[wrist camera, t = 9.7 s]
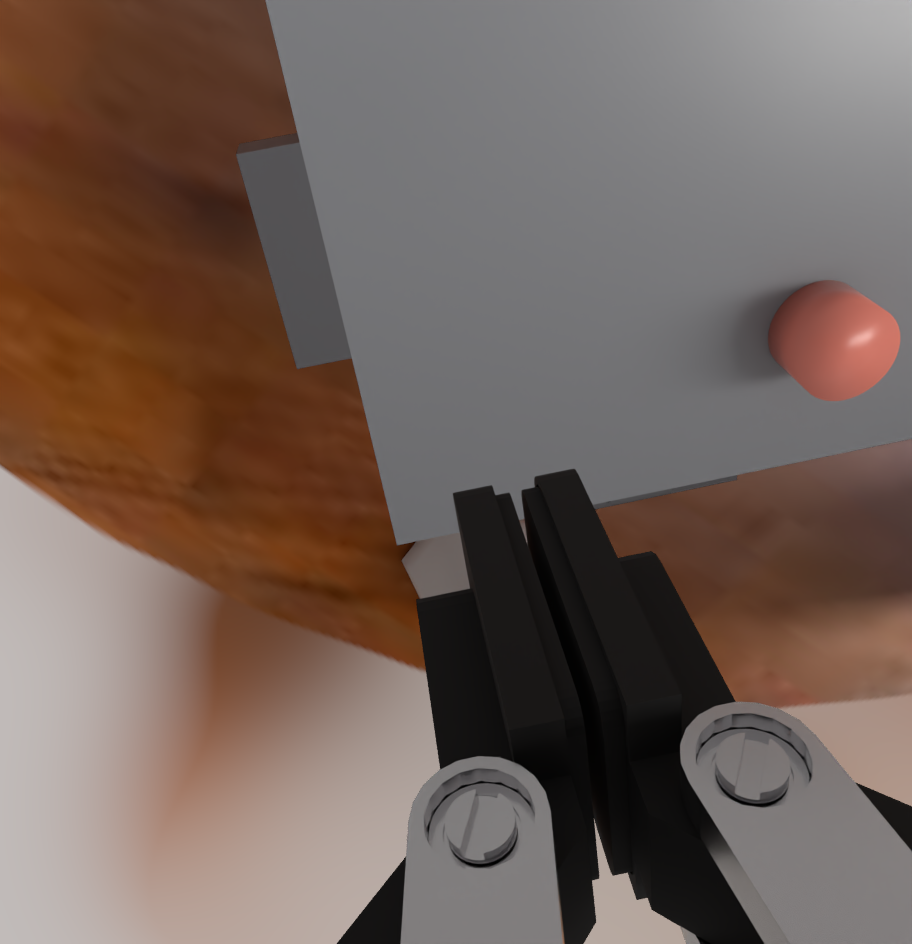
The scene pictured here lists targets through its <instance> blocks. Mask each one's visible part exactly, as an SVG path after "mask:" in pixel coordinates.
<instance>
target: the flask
mask: <svg viewBox="0 0 912 944" xmlns="http://www.w3.org/2000/svg"><path fill="white" fill-rule="evenodd" d="M519 521H520V524H521V527H522V530H523V533H524V536H525V539H526V542H527V535H526V528H525V520H523V519H522V520H519ZM527 545H528V543H527ZM402 563H403V565H404V567H405V569H406V571H407V573H408V575H409V577H410V579H411V581H412V583H413V585H414V587H415V590H416V592H417V594H418V596H419V598H420V599H421V598H426V597H431V596H436V595H441V594H446V593H451V592H455V591H460V590H465V589H470V586H469V580H468V575H467V570H466V564H465V559H464V553H463V548H462V543H461V537H460V532H459V533H454V534H449V535H445V536H440V537H435V538H430V539H425V540H420V541H416V543H415V544H414V545H413V546H412V548H411V549H410V550H409V552H408V553H407V554H406V555H405V557H404V558H403V559H402Z"/></svg>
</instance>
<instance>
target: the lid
mask: <svg viewBox="0 0 912 944" xmlns="http://www.w3.org/2000/svg"><path fill="white" fill-rule="evenodd" d="M265 1H266V5H267V9H268V13H269V17H270V22H271V26H272V30H273V34H274V38H275V42H276V46H277V51H278V55H279V59H280V63H281V67H282V71H283V75H284V79H285V84H286V88H287V92H288V96H289V100H290V104H291V108H292V113H293V117H294V121H295V125H296V129H297V133H294V134H289V135H284V136H278V137H273V138H268V139H262V140H257V141H252V142H246V143H241V144H239V147H238V150H237V153H236V156H237V160H238V163H239V167H240V170H241V174H242V177H243V181H244V184H245V188H246V191H247V195H248V199H249V202H250V206H251V209H252V213H253V216H254V220H255V223H256V227H257V230H258V234H259V237H260V241H261V244H262V248H263V251H264V255H265V258H266V262H267V265H268V269H269V272H270V276H271V279H272V283H273V286H274V290H275V293H276V297H277V300H278V304H279V307H280V311H281V315H282V318H283V322H284V325H285V329H286V332H287V336H288V339H289V343H290V346H291V350H292V353H293V357H294V360H295V364H296V367H297V369H300V368H305V367H310V366H315V365H320V364H325V363H330V362H335V361H340V360H345V359H350V358H352V361H353V365H354V369H355V373H356V377H357V381H358V386H359V390H360V394H361V398H362V402H363V406H364V410H365V415H366V419H367V423H368V427H369V431H370V435H371V439H372V444H373V448H374V452H375V456H376V460H377V464H378V468H379V472H380V477H381V481H382V485H383V489H384V493H385V497H386V501H387V506H388V510H389V514H390V518H391V522H392V526H393V530H394V535H395V539H396V543H397V545H401V544H406V543H411V542H416V541H420V540H425V539H430V538H435V537H440V536H445V535H449V534H454V533H459V526H458V521H457V516H456V510H455V505H454V499H453V493H455V492H460V491H465V490H470V489H475V488H480V487H485V486H490V485H492V486H493V489H494V492H495V495H499V494H504V493H510V495H511V497H512V500H513V503H514V506H515V509H516V512H517V515H518V518H519V520H522V519H524V512H523V504H522V496H521V491H522V490H524V489H529V488H534V487H535V486H534V478H535V476H539V475H544V474H549V473H554V472H559V471H564V470H569V469H575V470H576V471H577V473H578V475H579V477H580V479H581V481H582V483H583V485H584V487H585V490H586V492H587V494H588V496H589V498H590V500H591V502H592V504H593V505H594V504H599V503H604V502H609V501H614V500H619V499H623V498H628V497H633V496H638V495H643V494H648V493H652V492H657V491H662V490H667V489H672V488H677V487H681V486H686V485H691V484H696V483H701V482H706V481H710V480H715V479H720V478H725V477H730V476H735V475H739V474H744V473H749V472H754V471H759V470H764V469H769V468H773V467H778V466H783V465H788V464H793V463H798V462H802V461H807V460H812V459H817V458H822V457H827V456H831V455H836V454H841V453H846V452H851V451H856V450H860V449H865V448H870V447H875V446H880V445H885V444H889V443H894V442H899V441H904V440H909V439H912V0H265Z"/></svg>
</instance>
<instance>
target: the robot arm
mask: <svg viewBox="0 0 912 944" xmlns="http://www.w3.org/2000/svg"><path fill="white" fill-rule="evenodd" d="M534 486H535V487H534V488H529V489H524V490H522V491H521V496H522V504H523V512H524V520H525V528H526V535H527V542H526V539H525V536H524V533H523V530H522V527H521V524H520V521H519V518H518V515H517V512H516V509H515V506H514V503H513V500H512V497H511V495H510V493H504V494H499V495H495V492H494V489H493V486H492V485H490V486H485V487H480V488H475V489H470V490H465V491H460V492H455V493H453V499H454V505H455V510H456V516H457V521H458V526H459V532H460V537H461V543H462V548H463V553H464V559H465V564H466V570H467V575H468V580H469V586H470V589H465V590H460V591H455V592H451V593H446V594H441V595H436V596H431V597H426V598H421V599H416V602H417V611H418V618H419V625H420V632H421V639H422V646H423V653H424V660H425V667H426V674H427V680H428V687H429V694H430V701H431V708H432V714H433V722H434V729H435V736H436V743H437V750H438V756H439V763H440V770H439V771H438V772H437V773H436V774H435V775H433V776H432V777H431V778H430V779H429V780H428V781H427V782H426V783H425V784H424V785H423V787H422V788H421V790H420V791H419V793H418V795H417V797H416V798H415V800H414V802H413V805H412V809H411V813H410V817H409V822H408V836H407V853H406V857H405V858H404V860H403V861H402V862H401V863H400V865H399V866H398V867H397V868H396V870H395V871H394V872H393V873H392V875H391V876H390V877H389V878H388V880H387V881H386V882H385V884H384V885H383V886H382V887H381V889H380V890H379V891H378V892H377V894H376V895H375V896H374V897H373V899H372V900H371V901H370V902H369V904H368V905H367V906H366V907H365V909H364V910H363V911H362V913H361V914H360V915H359V916H358V918H357V919H356V920H355V921H354V923H353V924H352V925H351V926H350V928H349V929H348V930H347V931H346V933H345V934H344V935H343V937H342V938H341V939H340V940H339V942H338V943H337V944H583V943H584V942H585V940H586V938H587V937H588V935H589V933H590V932H591V930H592V928H593V926H594V925H595V923H596V915H595V906H594V896H593V886H592V880H595V879H599V868H598V859H597V847H596V837H595V826H594V819H595V823H596V826H597V830H598V833H599V836H600V839H601V842H602V846H603V849H604V852H605V856H606V859H607V862H608V865H609V868H610V870H611V873H612V875H618V874H623V873H628V875H629V878H630V881H631V884H632V887H633V890H634V893H635V896H636V899H637V900H639V899H643V898H648V900H649V903H650V906H651V909H652V910H653V911H655V912H657V913H658V914H660V915H662V916H664V917H665V918H667V919H669V920H670V921H672V922H674V923H676V924H677V925H679V926H680V927H681V930H682V933H683V936H684V939H685V942H686V944H912V807H911V806H909V805H907V804H904V803H902V802H900V801H898V800H895V799H893V798H891V797H888V796H886V795H884V794H881V793H879V792H876V791H874V790H871V789H869V788H867V787H865V786H862V785H860V784H858V783H855V782H854V781H853V780H852V778H851V777H850V776H849V775H848V774H847V772H846V771H845V770H844V769H843V768H842V766H841V765H840V764H839V763H838V761H837V760H836V759H835V758H834V757H833V755H832V754H831V753H830V752H829V751H828V750H827V748H826V747H825V746H824V744H823V743H822V742H821V741H820V740H819V738H818V737H817V736H816V735H815V734H814V733H813V732H812V731H811V730H810V729H809V728H808V727H806V726H805V725H804V724H803V723H802V722H801V721H800V720H799V719H797V718H795V717H793V716H791V715H789V714H788V713H785V712H784V711H782V710H780V709H778V708H774V707H771V706H767V705H763V704H760V703H750V702H735V700H734V698H733V696H732V694H731V692H730V690H729V689H728V687H727V685H726V683H725V681H724V679H723V677H722V675H721V674H720V672H719V670H718V668H717V666H716V664H715V662H714V661H713V659H712V657H711V655H710V653H709V651H708V649H707V647H706V646H705V644H704V642H703V640H702V638H701V636H700V634H699V632H698V631H697V629H696V627H695V625H694V623H693V621H692V619H691V618H690V616H689V614H688V612H687V610H686V608H685V606H684V604H683V603H682V601H681V599H680V597H679V595H678V593H677V591H676V589H675V588H674V586H673V584H672V582H671V580H670V578H669V576H668V575H667V573H666V571H665V569H664V567H663V565H662V563H661V562H660V560H659V559H658V557H657V555H656V554H655V553H653V552H652V551H650V552H645V553H640V554H636V555H631V556H626V557H621V558H617V555H616V553H615V551H614V549H613V547H612V545H611V543H610V541H609V538H608V536H607V534H606V532H605V530H604V528H603V526H602V524H601V521H600V519H599V517H598V515H597V513H596V511H595V509H594V507H593V504H592V502H591V500H590V498H589V496H588V494H587V492H586V490H585V487H584V485H583V483H582V481H581V479H580V477H579V475H578V473H577V471H576V470H575V469H569V470H564V471H559V472H554V473H549V474H544V475H539V476H535V478H534ZM527 543H528V545H527Z"/></svg>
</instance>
